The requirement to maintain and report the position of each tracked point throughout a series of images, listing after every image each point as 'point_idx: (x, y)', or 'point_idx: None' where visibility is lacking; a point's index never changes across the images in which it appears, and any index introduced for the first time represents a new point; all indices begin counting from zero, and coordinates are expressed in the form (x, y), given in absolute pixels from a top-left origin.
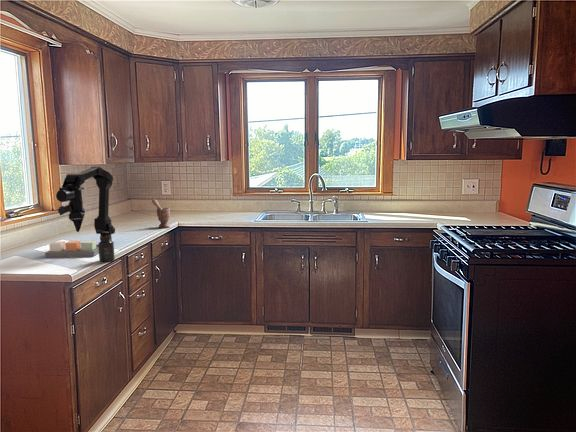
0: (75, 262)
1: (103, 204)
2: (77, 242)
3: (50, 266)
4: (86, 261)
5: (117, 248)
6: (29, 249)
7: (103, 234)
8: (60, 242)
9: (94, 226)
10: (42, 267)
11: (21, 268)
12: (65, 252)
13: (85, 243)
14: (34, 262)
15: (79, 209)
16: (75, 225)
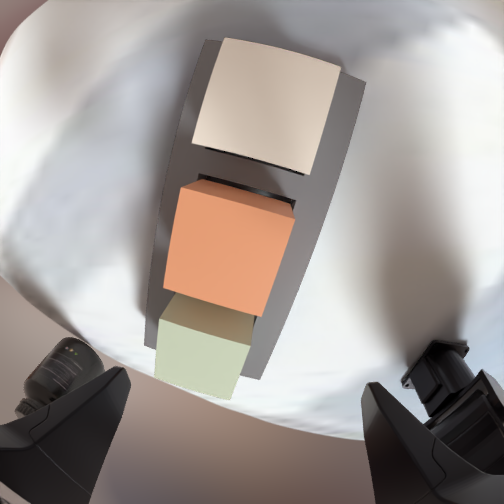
0: (59, 247)
1: None
2: (188, 295)
3: (24, 150)
4: (71, 292)
5: (313, 411)
6: (472, 5)
7: (440, 403)
8: (245, 133)
9: (498, 399)
10: (21, 121)
11: (38, 43)
12: (166, 182)
13: (157, 342)
14: (112, 38)
15: None
16: (50, 413)
